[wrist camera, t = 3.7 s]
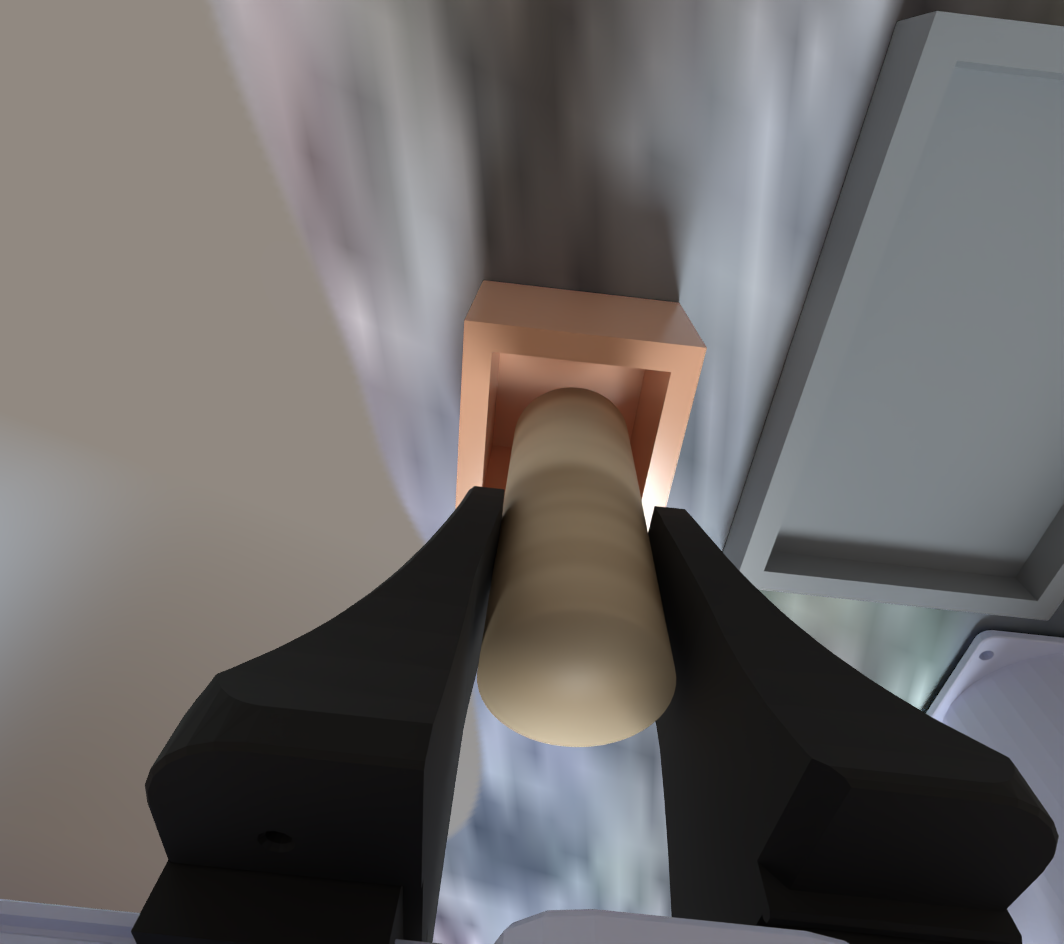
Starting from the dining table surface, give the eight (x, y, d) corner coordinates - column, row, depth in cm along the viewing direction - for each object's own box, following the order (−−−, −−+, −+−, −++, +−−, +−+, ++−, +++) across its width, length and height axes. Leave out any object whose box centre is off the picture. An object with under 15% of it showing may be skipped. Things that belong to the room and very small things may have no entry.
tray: (1015, 586, 23) (1048, 620, 21) (722, 554, 23) (734, 586, 21) (1349, 77, 15) (1443, 72, 13) (897, 21, 15) (936, 10, 13)
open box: (641, 471, 21) (656, 542, 18) (472, 452, 21) (455, 520, 18) (679, 302, 18) (706, 347, 15) (483, 280, 18) (464, 320, 15)
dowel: (617, 494, 17) (654, 755, 10) (509, 482, 17) (471, 736, 10) (638, 394, 15) (696, 621, 9) (519, 380, 15) (483, 598, 9)
